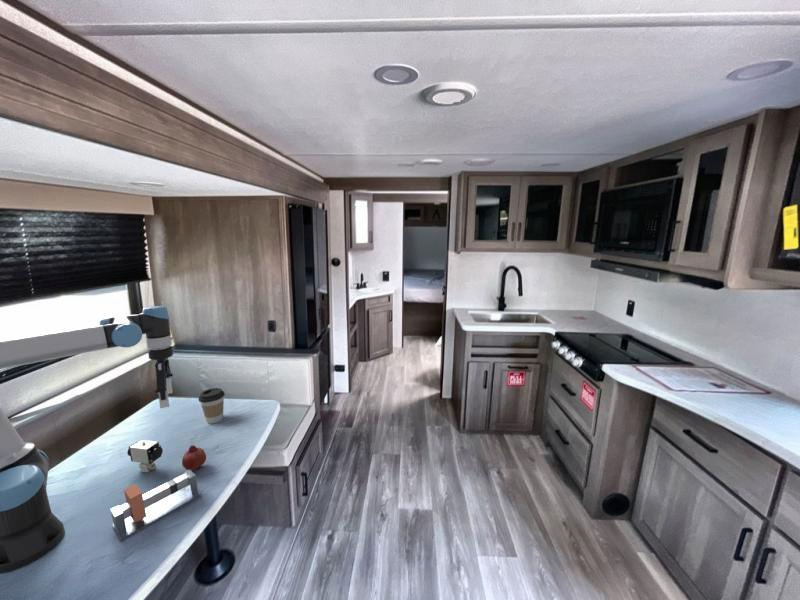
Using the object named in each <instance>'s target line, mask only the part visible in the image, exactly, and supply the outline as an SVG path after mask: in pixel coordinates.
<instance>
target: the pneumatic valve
mask: <svg viewBox="0 0 800 600" xmlns="http://www.w3.org/2000/svg"><path fill="white" fill-rule="evenodd" d="M163 451H164V450H163V447H162V445H161V444H160V442H159V441H155V440H154V439H148V440H142V439H139V440H138V441H136V442H135V443H133V444H131V445H130V446H128V450H127V456H128V457H130V460H131V461H130V462H131V463H132V462H133V463H139V469H140V472H141V473H142V472H143V473H150V472H151V471H153V470H154V469H156V466H157V465H156V461H157V460H159V459H160V458H161V457H162V455H163Z"/></svg>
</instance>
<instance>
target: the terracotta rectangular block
mask: <svg viewBox="0 0 800 600" xmlns="http://www.w3.org/2000/svg"><path fill="white" fill-rule="evenodd" d="M123 491H124V497H125V500H126V501H125V502H126V503H127V502H129V504H130V506H131V510H132V516H131V518H132V519H133V521H134V523H135V522H137V521H139V520H141V519H143V518H144V517H146V511H145V506H144V500H143V492H142V491H141V489H140V488H139V487H138V485H137V484H136V483H134V484H132V485H131V486H128V487H126V488H125V489H124V490H123Z"/></svg>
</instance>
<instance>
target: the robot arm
mask: <svg viewBox="0 0 800 600" xmlns="http://www.w3.org/2000/svg"><path fill="white" fill-rule="evenodd" d="M170 326H171V325H170V317H169V312H168V308H167V307H166V306H163V305H153V306H152V305H151V306H146V307H143V308H142V312H141V313H137V314H129V315H127V314H126V315H120V316H119V315H118V316H110V317H103V318H101V319H100V321H99V325H97V326H89V327H83V328H76V329H71V330H62V331H57V332H51V333H50V332H49V333H43V334H39V335H31V336H30V335H29V336H26V337H18V338H12V339H11V338H10V339H6V340H0V370H3V369H4V370H5V369H11V368H13V367H19V366H20V367H21V366H25V365H30V364H35V363H40V362H46V361H51V360H55V359H60V358H65V357H70V356H75V355H81V354H85V353H91V352H96V351H102V350H106V349H112V348H118V347H121V348H132V347H134V346H136V345H138V344H139V343H140V342H141V340H142V338H143V335H145V340H146V346H147V354H148V359H149V360H151V361H156V362H155V365H154V367H155V374H156V375H155V376H156V377H155V378H156V390H155V391H154V392H155V393H158V400H159V402H158V403H159V409H165V408H170V402H169V401H170V400H169V394H173V392H174V391H173V384H172V377H174V375H173V373H172V371H171V366H170V360H169V358H171V357H173V356H174V349H173V346H172V344H173V342H172V341H173V340H174V337H173V336H171V327H170ZM50 467H51V465H50V459H49V457H48V456H47V454H46V452H44V451H43V450H40V449H38V447H37V446H36V444H34V443H33V442H25V441H24V439H22V437H21V436H20V434H19V433H18V431H17V429H16V428H15V426H14V425H13V423H12V422H11V421H10V419H9V418H8V416H7V415H6V413H5V412H4V410H3V409H2V407H1V406H0V574H6V573H9V572H14V571H17V570H19V569H21V568H24V567H26V566H28V565H30V564H32V563H34V562H36V561H38V560H39V559H41V558H42V557H44V556H46V555H47V554H48V553H49V552H51V551H52V550H53V549H54V548H56V547H57V546H58V545H59V543H61V541H62V540H63V539H64V537H65V534H66V529H65V526H64V523H63V522H62V521H61V519H59V518H58V517H57V516H56V515H55V514H54V513H53V512H52V509H51V503H50V501H49V497H48V492H47V491H48V490H47V486H48V474H49V471H50Z"/></svg>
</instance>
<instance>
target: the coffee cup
mask: <svg viewBox="0 0 800 600" xmlns="http://www.w3.org/2000/svg"><path fill="white" fill-rule="evenodd" d="M225 395H226V393H225V391H223V390H222V388H219V387H214V388H209V389H205V390H204V391H202V392H200V395H199V396H198V402H200V405H201V409H202V411H203V415H204V418H205V419H204V420H205V421H206V424H209V425H213V424H218V423H220V422H221V421H223V420H224V405H225V404H224V402H225V401H224V400H225Z"/></svg>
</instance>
